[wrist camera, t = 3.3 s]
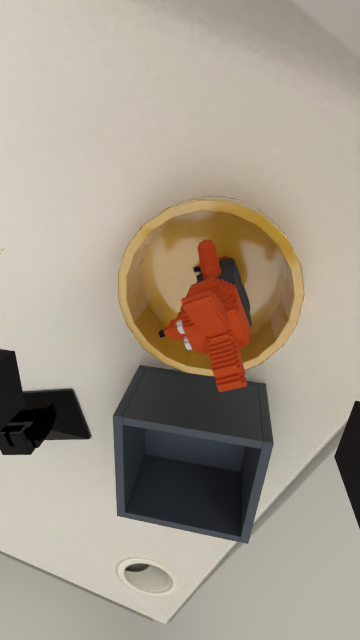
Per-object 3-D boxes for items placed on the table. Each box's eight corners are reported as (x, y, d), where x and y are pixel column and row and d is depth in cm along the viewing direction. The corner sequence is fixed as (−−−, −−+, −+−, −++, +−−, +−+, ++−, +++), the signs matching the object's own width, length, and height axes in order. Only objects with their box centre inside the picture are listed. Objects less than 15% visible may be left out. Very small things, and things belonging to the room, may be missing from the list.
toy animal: (163, 248, 26) (109, 299, 15) (225, 223, 24) (214, 260, 13) (197, 331, 28) (173, 424, 18) (256, 313, 27) (268, 404, 16)
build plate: (73, 388, 35) (51, 416, 30) (93, 437, 37) (75, 470, 33) (-19, 394, 37) (-51, 421, 33) (5, 440, 40) (-21, 470, 36)
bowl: (310, 203, 23) (325, 208, 19) (276, 357, 29) (282, 387, 25) (135, 190, 25) (115, 192, 21) (135, 338, 30) (119, 363, 26)
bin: (265, 383, 30) (273, 443, 23) (246, 474, 35) (248, 544, 29) (139, 365, 32) (112, 415, 25) (139, 454, 37) (116, 516, 30)
